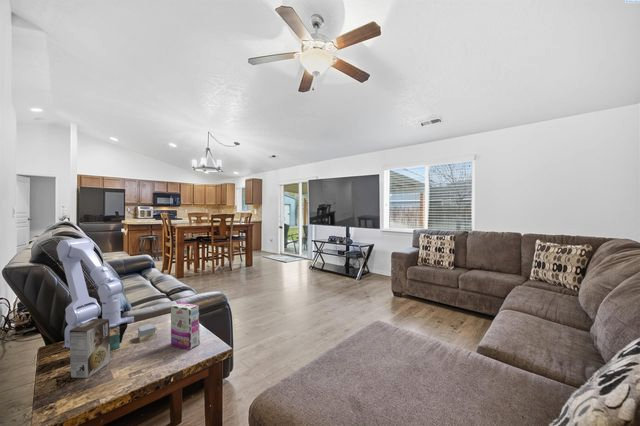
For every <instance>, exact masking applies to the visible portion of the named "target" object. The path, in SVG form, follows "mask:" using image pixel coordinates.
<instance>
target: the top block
mask: <svg viewBox="0 0 640 426" xmlns="http://www.w3.org/2000/svg"><path fill="white" fill-rule="evenodd" d="M137 328H138V329H137V330H138V331H137V334H138V333H139V335H140V337H143V336H146V335H150V334H154V333H157V331H156V326H155V325H154V323H153V322H152V323H148V324H145V325H141V326H138V327H137Z"/></svg>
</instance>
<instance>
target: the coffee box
mask: <svg viewBox="0 0 640 426" xmlns="http://www.w3.org/2000/svg"><path fill="white" fill-rule="evenodd" d="M110 332H111V331H110V328H109V319H102V318H97V319H92V320H90V321H88V322H86V323H84V324H82V325H80V326H78V327H76V328H74V329H72V330H70V348H69V350H70V351H69V353H70V360H69V361H70V377H71V378H85V379H86V378H90V377H91V376H92V375H94V374H96V373H97V372H98V371H100V370H101V369H103V368H104V367H105V366H107V365H108V364H109V363H111V362H112V359H111V351H110V336H111V333H110Z"/></svg>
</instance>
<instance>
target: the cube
mask: <svg viewBox="0 0 640 426" xmlns="http://www.w3.org/2000/svg"><path fill="white" fill-rule="evenodd" d="M120 344H121V343H120V337H119V332H118V333H116V334H112V335H111V334H110V352H112V351H115V350H118V349H120V348H121V346H120Z"/></svg>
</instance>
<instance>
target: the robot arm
mask: <svg viewBox="0 0 640 426" xmlns="http://www.w3.org/2000/svg"><path fill="white" fill-rule="evenodd" d="M55 249H56V252H57V256H58V260H59V262H61V263H62V266H63V270H64V273H65V279H66V281H67V285H68V288H69V289H68V290H69V294H70V297H71V300H72V301H71V302H70V303H69V304H68V306H67V307H65V309H64V310H65V316H64V317H65V321H66V323H67V325H66V327H65V328H64V345H62V348H65V347H66V348H67V349H68V348H69V349H70V330H72V329H74V328H76V327H78V326H80V325H82V324H84V323H86V322H88V321H90V320H92V319H98V317H99V316H100V315H101V314H102V315H101V316H102V317H101V319H109V329H110V328H114V327H117V326H118V327H119V332H118V333H119V337H120V344H122V342H123V337H124V335H125V332H126V330H127V328H128V324H130V323H131V324H132V323H134V322H135V317H134V316H133V315H132V316H127V317H121V293H123V292H124V289H125V288H124V287H125V286H124V283H123V281H122V280H121V279H118V278H117V277H114V275H113V274H112V272H111V271H110V270H109V269H108V267H107V266H104V265H102V264H101V262H100V260H99V258H98V257H97V254H96V253H95V251H94V250H95V243H94V242H93V240H92V239H91V238H90V237H84V238H83V237H81V238H73V239H72V238H71V239H62V240H60V241H59V242H58V244H57V246H56V248H55ZM81 260H82V262H83V263H84V264H85V265H86V266H87V267H88V269H89V270H90V271H91V272H90V274H89V276H90V277H91V279H92V280H93V281H94V284H96V286H97V288H98V290H97V295H98V297H99V301H100V303H101V305H100V304H99V303H98V301H97V299H96V298H94V297H91V296H90V295H89V291H88V287H87V283H86V281H85V280H86V279H85V275H84V272H83V268H82V264H81Z"/></svg>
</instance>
